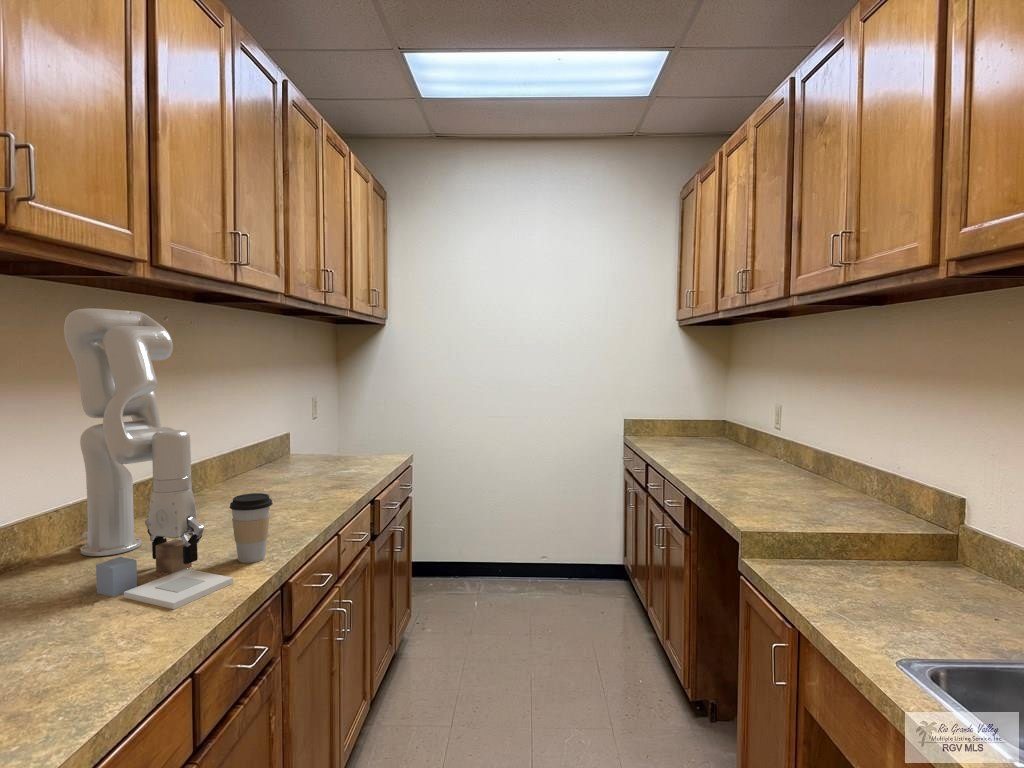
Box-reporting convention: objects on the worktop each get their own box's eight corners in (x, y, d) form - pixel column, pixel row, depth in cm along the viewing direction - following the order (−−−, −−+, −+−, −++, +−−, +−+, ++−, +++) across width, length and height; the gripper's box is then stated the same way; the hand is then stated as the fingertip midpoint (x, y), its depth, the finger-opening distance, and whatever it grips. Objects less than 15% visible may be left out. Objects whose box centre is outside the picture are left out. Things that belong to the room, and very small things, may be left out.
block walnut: (156, 571, 132) (155, 545, 131) (176, 564, 136) (175, 539, 136) (171, 574, 130) (171, 548, 130) (191, 567, 134) (191, 541, 134)
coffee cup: (232, 554, 143) (231, 494, 142) (273, 550, 146) (273, 491, 146) (228, 567, 134) (227, 503, 133) (272, 563, 137) (271, 500, 137)
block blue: (96, 593, 120) (95, 564, 119) (120, 584, 124) (120, 556, 124) (113, 597, 118) (112, 567, 118) (137, 588, 122) (136, 559, 122)
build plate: (124, 597, 117) (123, 591, 117) (186, 573, 130) (185, 567, 130) (173, 609, 112) (173, 602, 112) (233, 583, 125) (233, 577, 125)
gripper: (130, 485, 132) (132, 560, 132) (185, 491, 125) (187, 570, 126) (161, 479, 139) (163, 550, 139) (214, 484, 132) (217, 558, 133)
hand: (175, 559), depth 133 cm, fingers open, 9 cm apart
